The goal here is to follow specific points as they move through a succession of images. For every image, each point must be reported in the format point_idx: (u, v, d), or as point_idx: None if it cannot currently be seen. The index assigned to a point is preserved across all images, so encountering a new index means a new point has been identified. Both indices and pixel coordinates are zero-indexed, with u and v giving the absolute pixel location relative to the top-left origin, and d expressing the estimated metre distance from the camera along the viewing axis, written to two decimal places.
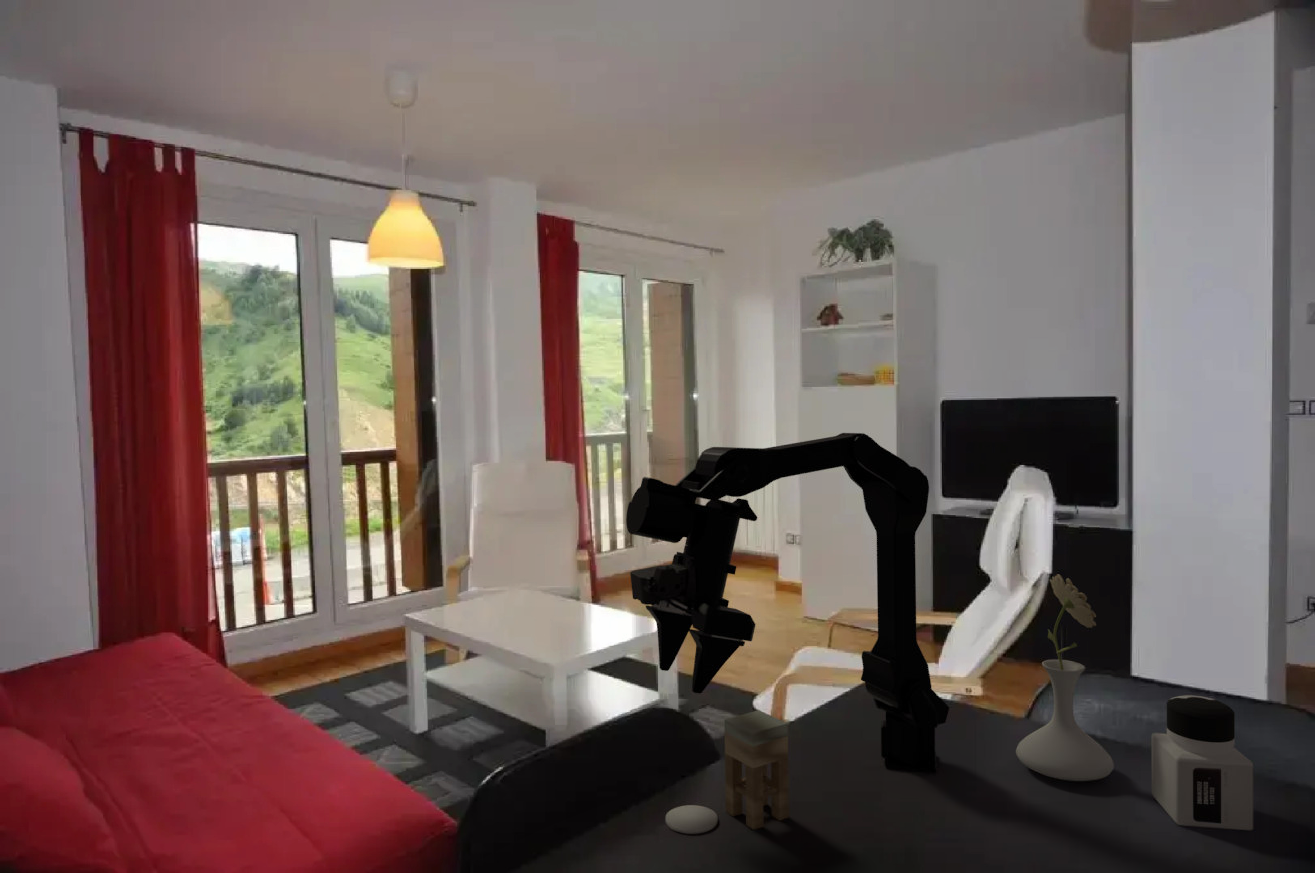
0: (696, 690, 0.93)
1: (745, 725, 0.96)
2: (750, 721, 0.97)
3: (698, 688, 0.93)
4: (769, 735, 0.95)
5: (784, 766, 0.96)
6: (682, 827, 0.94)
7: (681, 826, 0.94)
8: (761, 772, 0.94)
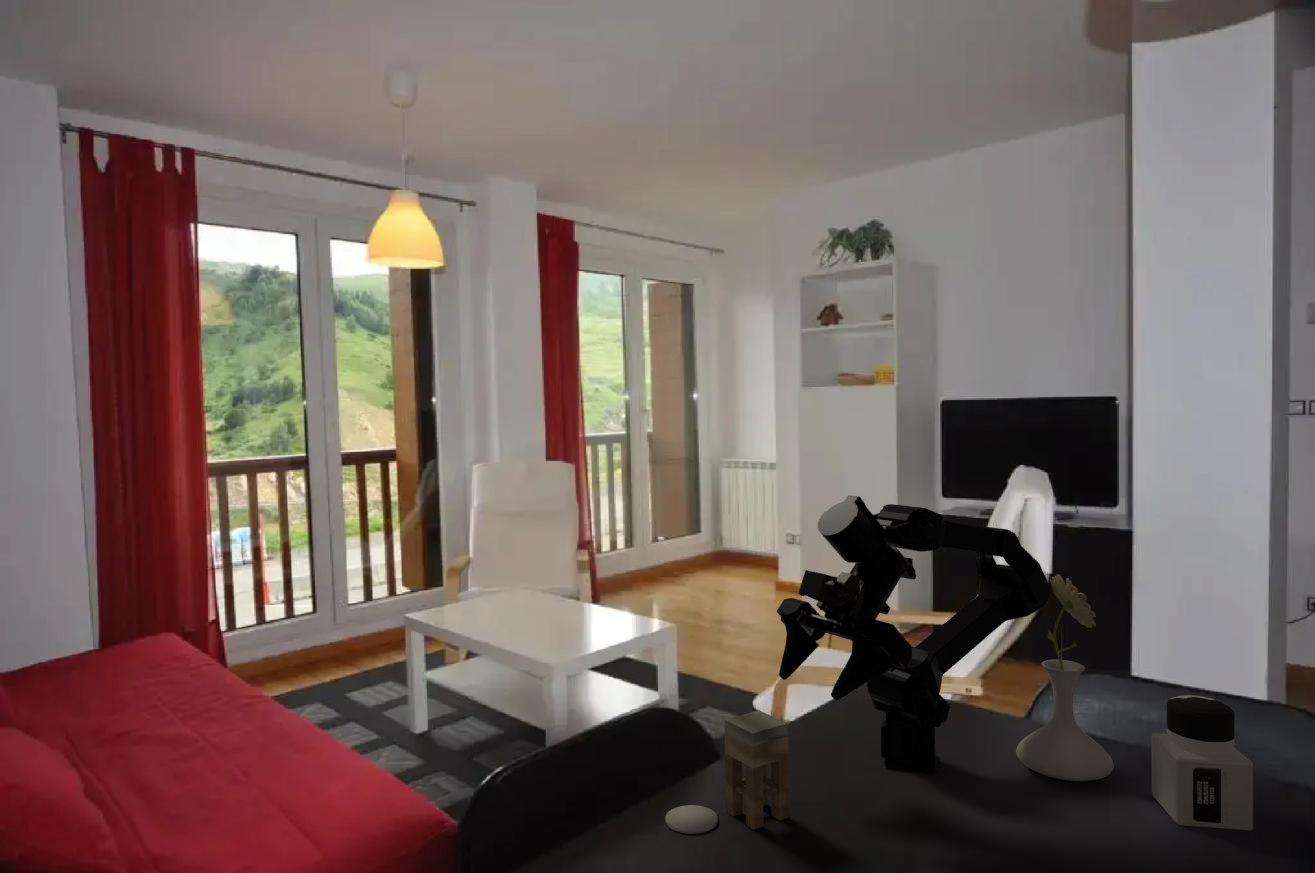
0: (835, 695, 0.97)
1: (745, 725, 0.96)
2: (750, 721, 0.97)
3: (838, 694, 0.97)
4: (769, 735, 0.95)
5: (784, 766, 0.96)
6: (682, 827, 0.94)
7: (681, 826, 0.94)
8: (761, 772, 0.94)
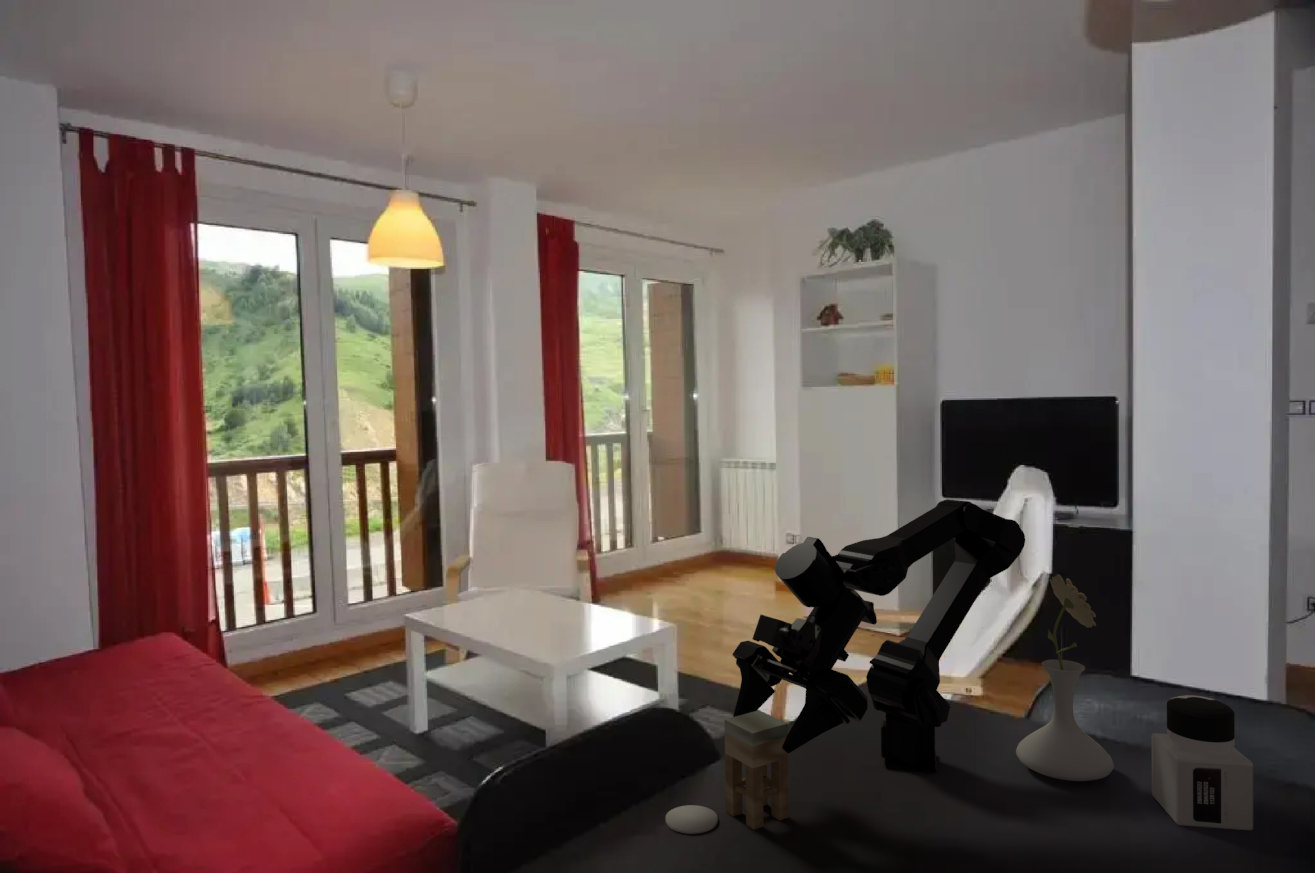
0: (787, 748, 0.93)
1: (745, 725, 0.96)
2: (750, 721, 0.97)
3: (789, 747, 0.93)
4: (769, 735, 0.95)
5: (784, 766, 0.96)
6: (682, 827, 0.94)
7: (681, 826, 0.94)
8: (761, 772, 0.94)
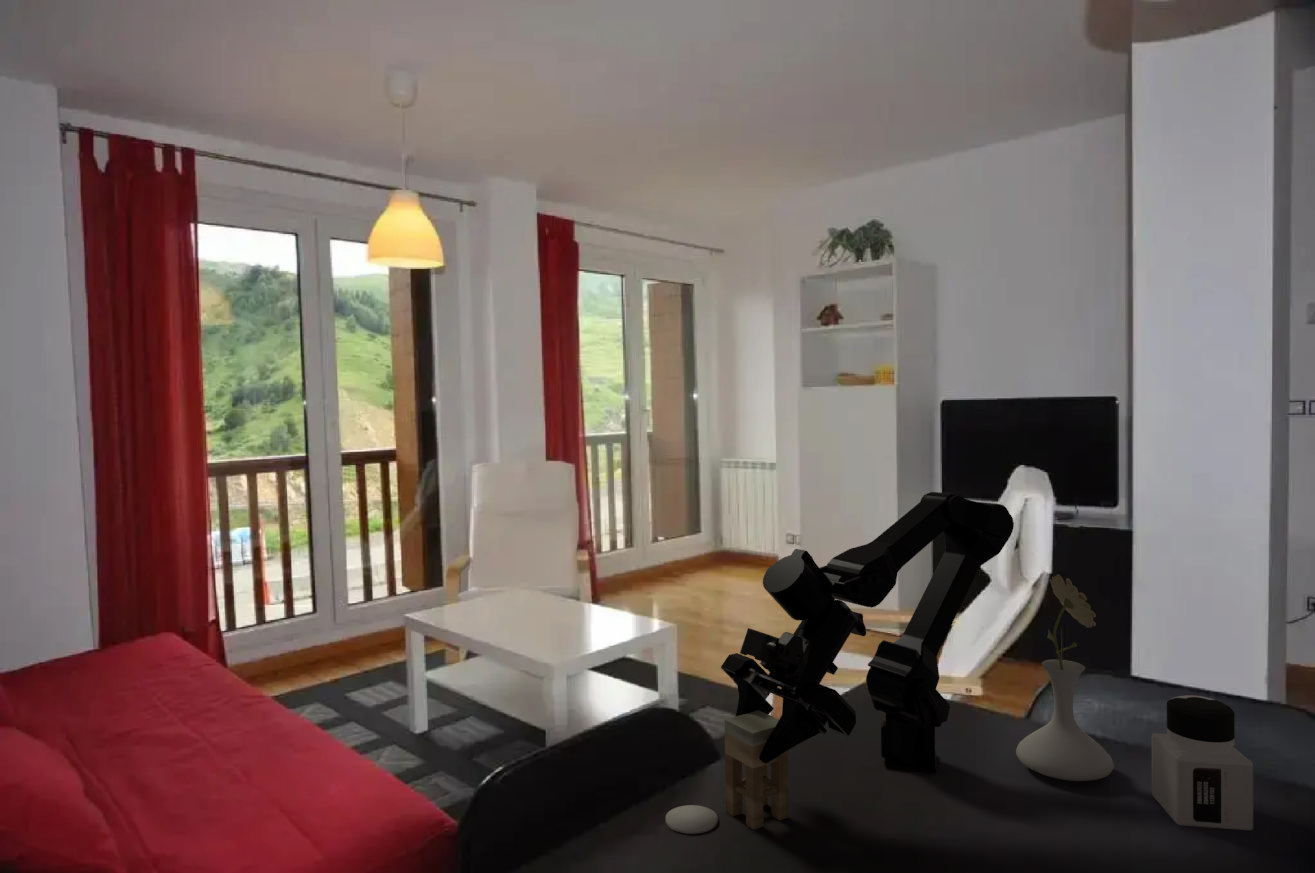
0: (764, 758, 0.94)
1: (745, 725, 0.96)
2: (750, 721, 0.97)
3: (766, 757, 0.94)
4: (769, 735, 0.95)
5: (785, 766, 0.96)
6: (682, 827, 0.94)
7: (681, 826, 0.94)
8: (761, 772, 0.94)
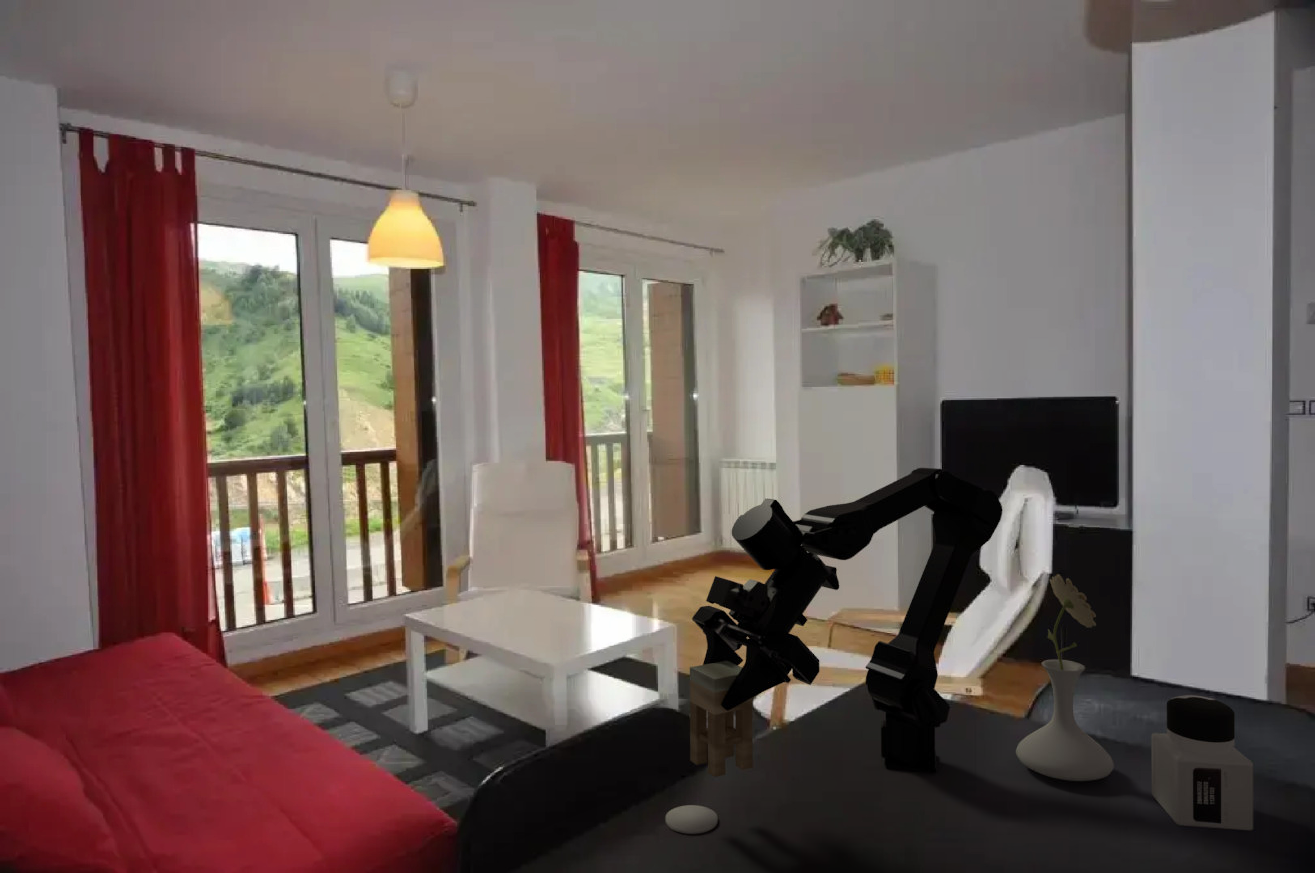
0: (726, 705, 0.93)
1: (708, 672, 0.95)
2: (715, 669, 0.96)
3: (728, 704, 0.93)
4: (732, 682, 0.94)
5: (749, 715, 0.95)
6: (682, 827, 0.94)
7: (681, 826, 0.94)
8: (723, 719, 0.93)
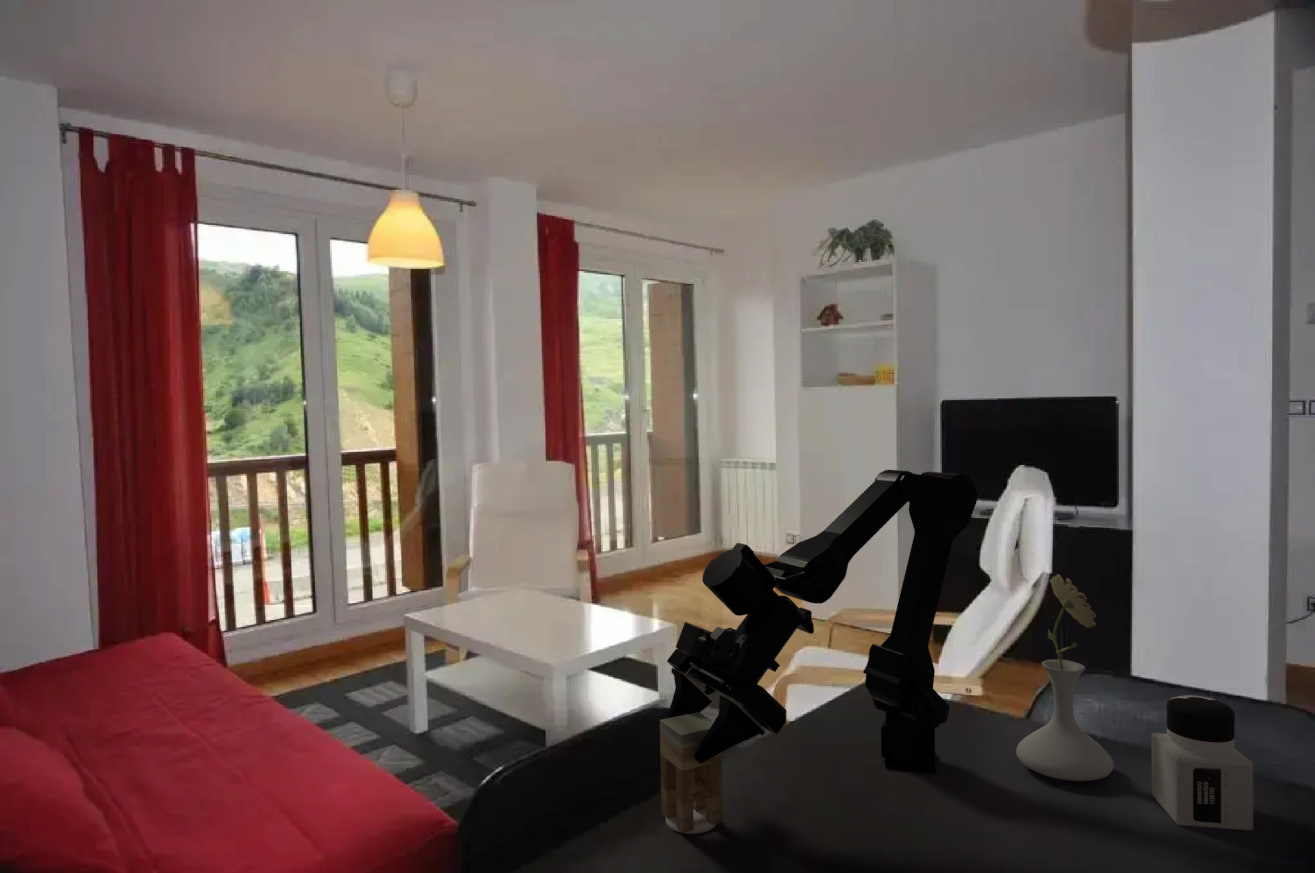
0: (698, 758, 0.91)
1: (677, 726, 0.94)
2: (685, 722, 0.96)
3: (701, 757, 0.91)
4: (700, 737, 0.93)
5: (718, 770, 0.94)
6: None
7: None
8: (691, 775, 0.93)
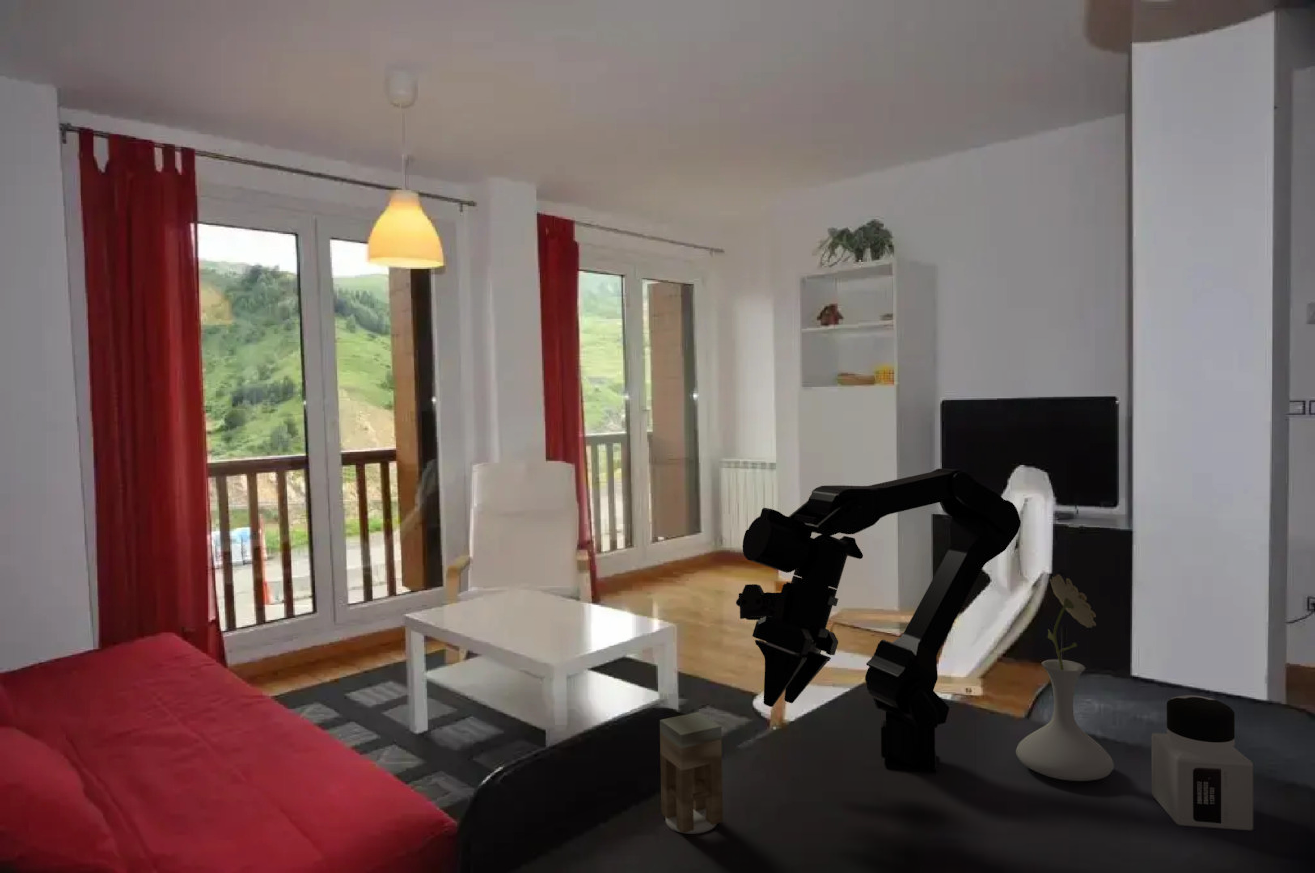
0: (766, 702, 0.99)
1: (677, 726, 0.94)
2: (685, 722, 0.96)
3: (767, 700, 0.99)
4: (700, 737, 0.93)
5: (718, 770, 0.94)
6: None
7: None
8: (691, 775, 0.93)
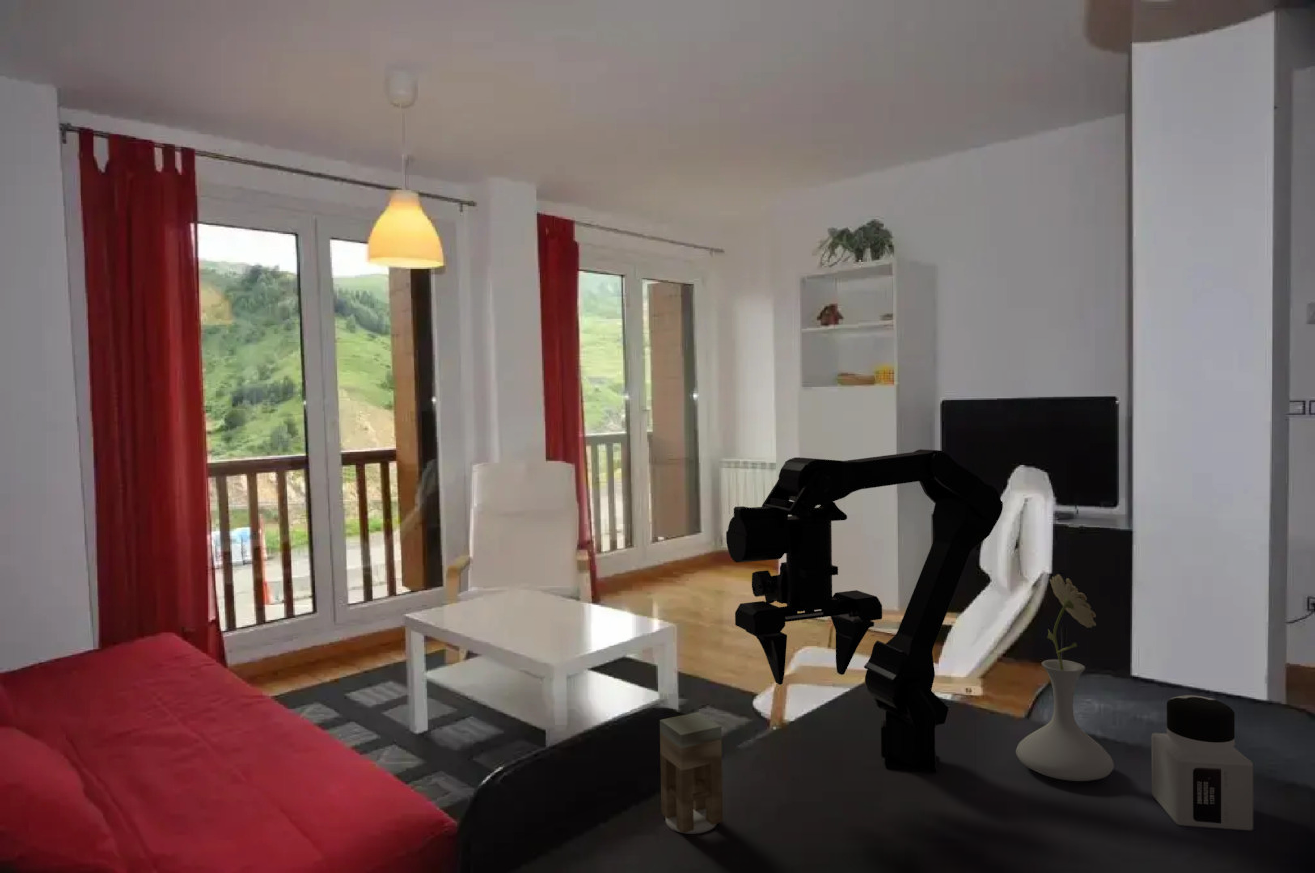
0: (776, 681, 1.04)
1: (677, 726, 0.94)
2: (685, 722, 0.96)
3: (776, 679, 1.04)
4: (700, 737, 0.93)
5: (718, 770, 0.94)
6: None
7: None
8: (691, 775, 0.93)
